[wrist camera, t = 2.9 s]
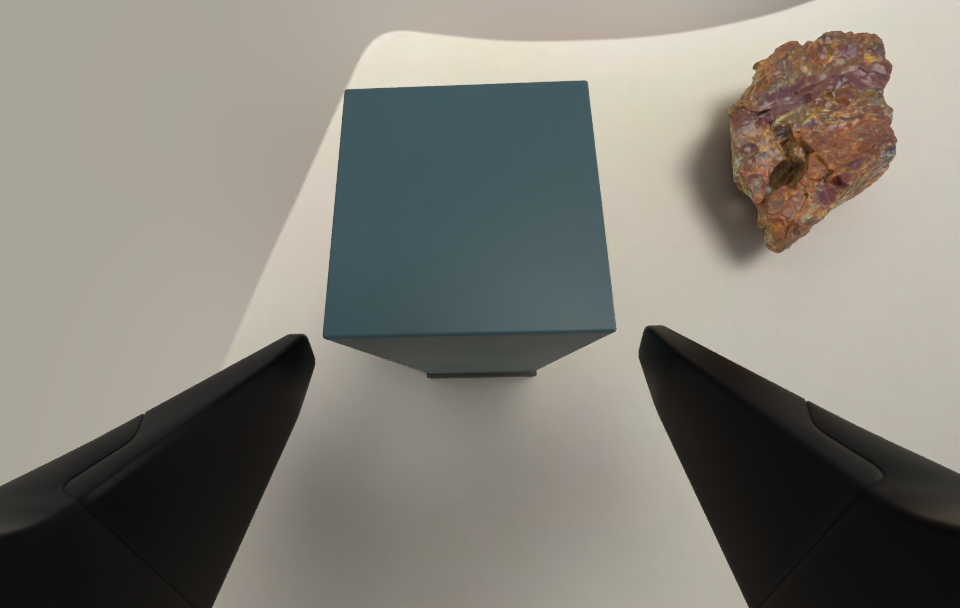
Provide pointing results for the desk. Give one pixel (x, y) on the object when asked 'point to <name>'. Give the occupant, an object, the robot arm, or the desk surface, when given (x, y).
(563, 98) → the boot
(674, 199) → the desk surface
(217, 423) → the robot arm
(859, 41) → the mineral specimen
